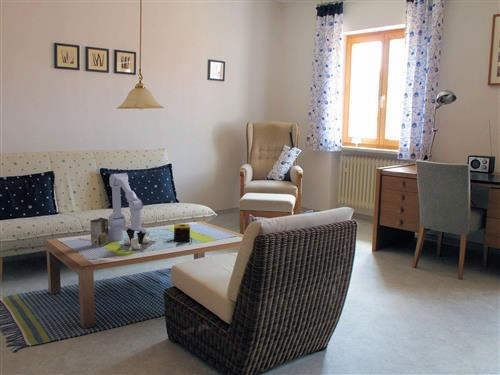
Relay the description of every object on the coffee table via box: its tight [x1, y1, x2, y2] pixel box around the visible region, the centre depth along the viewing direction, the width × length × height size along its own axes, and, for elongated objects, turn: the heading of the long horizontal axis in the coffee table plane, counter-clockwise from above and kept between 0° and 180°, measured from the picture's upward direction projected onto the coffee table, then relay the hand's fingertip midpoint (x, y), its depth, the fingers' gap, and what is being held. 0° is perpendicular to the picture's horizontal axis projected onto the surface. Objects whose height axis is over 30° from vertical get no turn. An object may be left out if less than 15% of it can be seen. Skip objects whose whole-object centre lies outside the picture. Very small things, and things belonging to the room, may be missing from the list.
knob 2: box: [142, 231, 150, 243], centre depth 315 cm, size 6×5×6 cm
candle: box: [173, 223, 191, 243], centre depth 327 cm, size 10×10×10 cm
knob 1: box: [131, 237, 140, 249], centre depth 301 cm, size 6×5×6 cm
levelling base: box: [116, 238, 157, 253], centre depth 309 cm, size 16×24×4 cm
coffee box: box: [90, 217, 110, 248], centre depth 311 cm, size 9×6×16 cm
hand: (136, 242), depth 301 cm, fingers open, 7 cm apart
